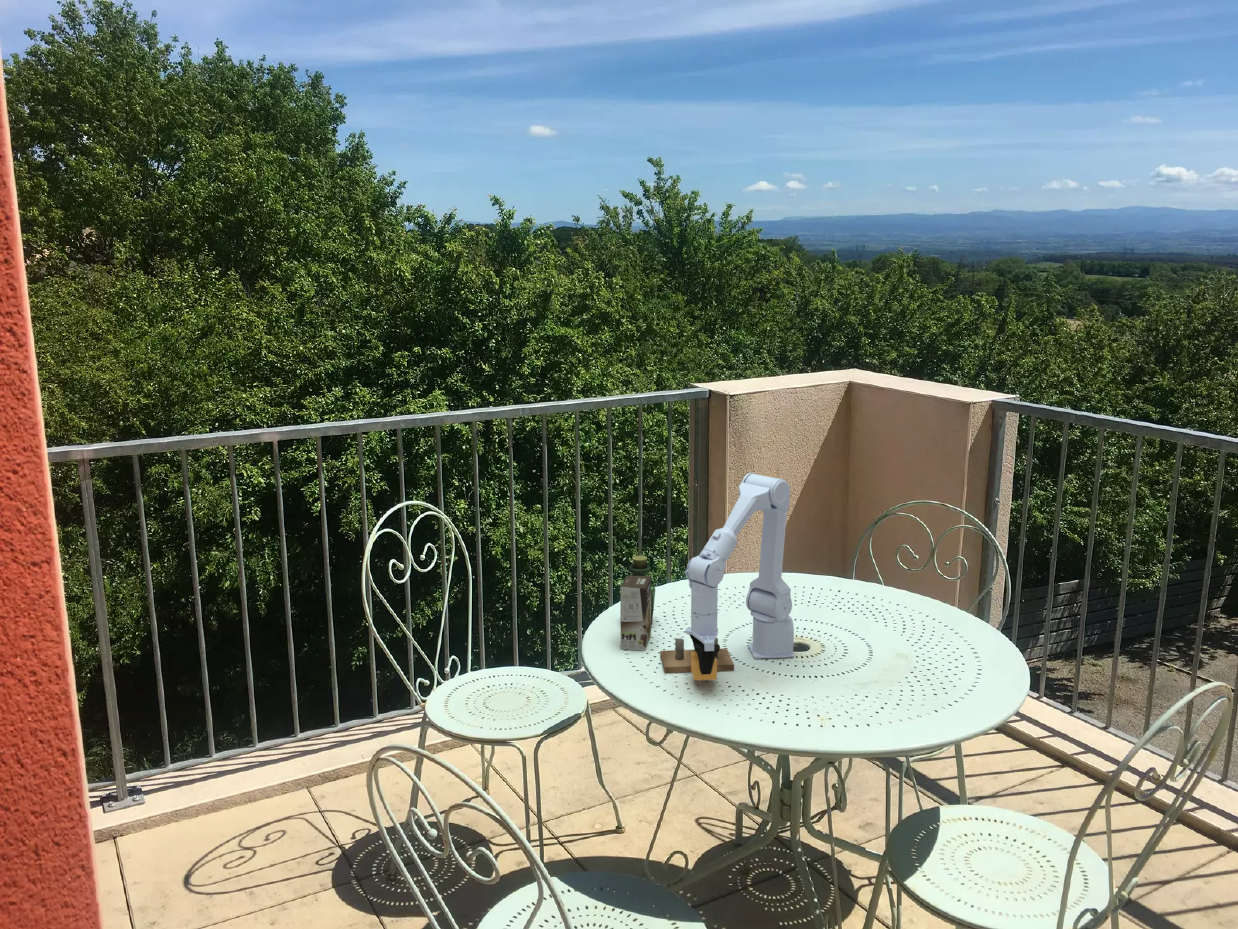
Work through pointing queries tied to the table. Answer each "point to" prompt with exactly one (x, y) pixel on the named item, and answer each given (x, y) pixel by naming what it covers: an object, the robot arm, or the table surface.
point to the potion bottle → (642, 569)
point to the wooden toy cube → (696, 669)
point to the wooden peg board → (682, 659)
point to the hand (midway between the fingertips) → (703, 668)
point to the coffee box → (635, 612)
